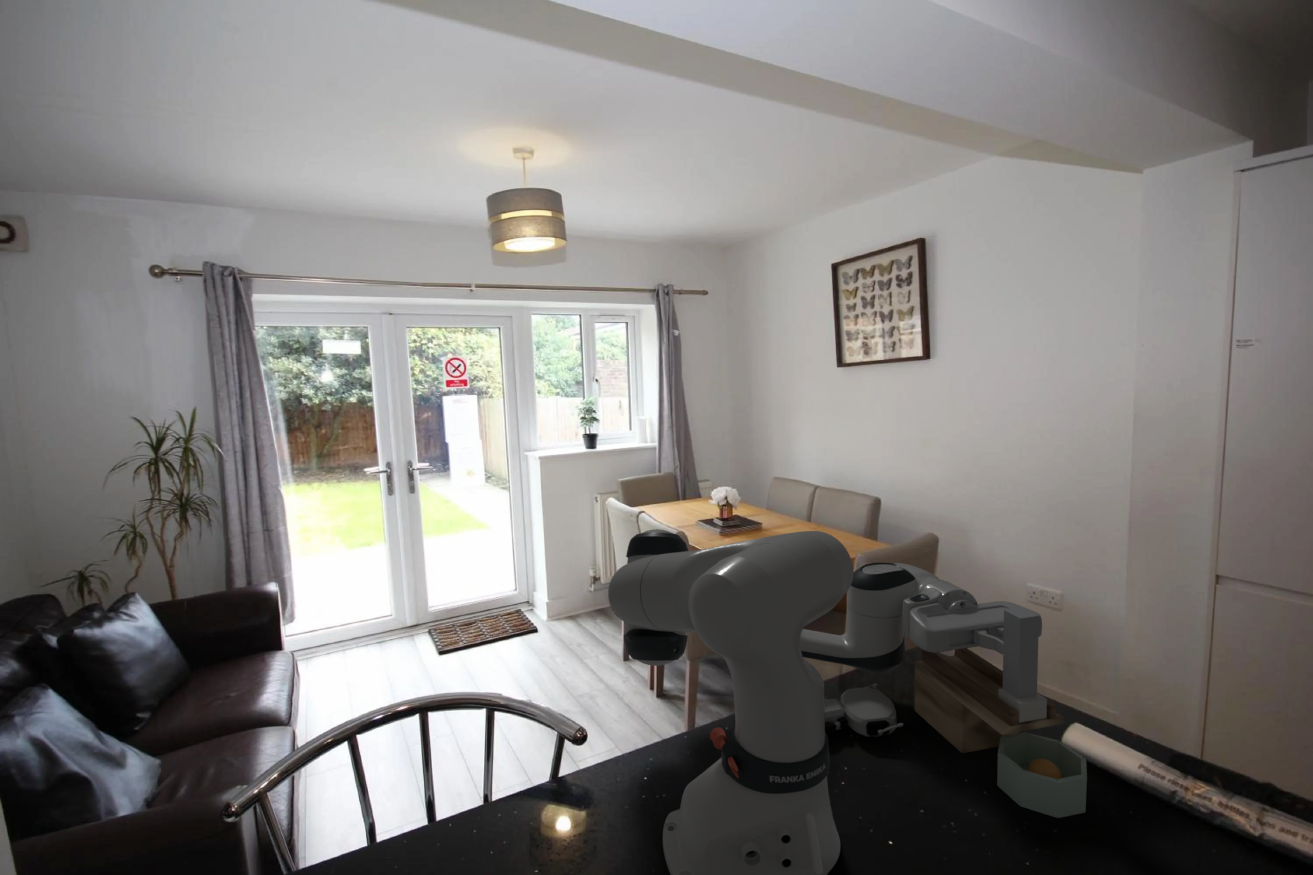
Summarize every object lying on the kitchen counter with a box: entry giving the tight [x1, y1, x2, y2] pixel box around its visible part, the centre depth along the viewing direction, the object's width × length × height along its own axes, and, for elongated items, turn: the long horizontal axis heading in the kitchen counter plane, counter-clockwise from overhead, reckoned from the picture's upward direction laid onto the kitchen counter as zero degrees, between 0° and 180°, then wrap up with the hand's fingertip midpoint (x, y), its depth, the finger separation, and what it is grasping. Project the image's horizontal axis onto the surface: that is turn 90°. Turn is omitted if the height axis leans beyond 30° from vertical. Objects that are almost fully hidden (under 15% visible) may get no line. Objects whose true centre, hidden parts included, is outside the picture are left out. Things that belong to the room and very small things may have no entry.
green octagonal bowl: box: [996, 731, 1088, 819], centre depth 84 cm, size 10×10×5 cm
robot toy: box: [824, 683, 904, 738], centre depth 101 cm, size 12×4×15 cm
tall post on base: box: [998, 608, 1048, 723], centre depth 86 cm, size 4×4×15 cm
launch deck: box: [914, 648, 1065, 754], centre depth 95 cm, size 10×20×11 cm, turn 11°
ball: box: [1028, 759, 1062, 779], centre depth 84 cm, size 4×4×4 cm
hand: (1012, 648), depth 88 cm, fingers closed, pressing on tall post on base
